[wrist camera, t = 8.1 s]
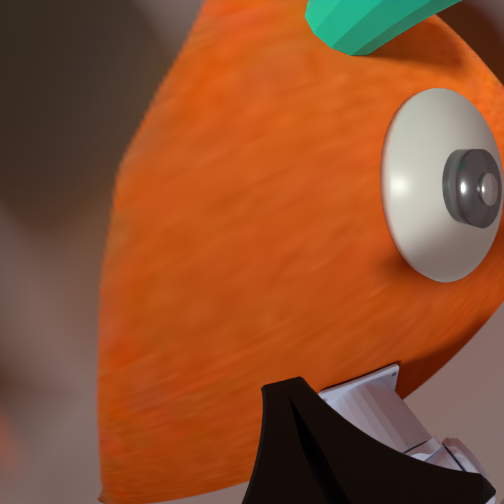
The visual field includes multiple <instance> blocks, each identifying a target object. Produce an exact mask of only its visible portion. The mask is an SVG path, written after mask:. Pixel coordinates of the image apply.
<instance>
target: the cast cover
mask: <svg viewBox="0 0 504 504" xmlns="http://www.w3.org/2000/svg"><path fill="white" fill-rule="evenodd" d="M442 191H443V198H444V202H445V205H446V208H447V210H448V212H449V214H450V215H451V217H452V218H453V219H454V220H455V221H457V222H460V223H463V224H467V225H471V226H475V227H478V228H487V227H489V226H490V225H491V224H492V223H493V221H494V220H495V218H496V216H497V214H498V211H499V208H500V203H501V196H502V185H501V177H500V172H499V169H498V166H497V163H496V161H495V159H494V158H493V156H492V155H491V154H490V153H489V152H488V151H487V150H485V149H458V150H455V151H453V152H452V153H451V154H450V155H449V157H448V159H447V161H446V163H445V166H444V170H443V177H442Z"/></svg>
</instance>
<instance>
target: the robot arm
mask: <svg viewBox="0 0 504 504" xmlns="http://www.w3.org/2000/svg"><path fill="white" fill-rule="evenodd" d="M398 372H399V366H398V365H397V364H393V365H391V366H388V367H386V368H383V369H381V370H379V371H376V372H374V373H371V374H369V375H366V376H363V377H361V378H358V379H355V380H353V381H350V382H347V383H344V384H341V385H338V386H335V387H332V388H329V389H326V390H323V391H321V392H320V393H319V394H317V393H316V392H315V391H314V390H313V389H312V388H311V387H310V386H309V385H308V383H307V382H306V381H305V380H304V379H303V378H302V377H300V376H299V377H295V378H291V379H288V380H284V381H280V382H275V383H271V384H267V385H264V386H263V387H262V388H261V391H262V397H263V417H262V427H261V435H260V441H259V446H258V451H257V456H256V461H255V465H254V469H253V472H252V476H251V479H250V482H249V485H248V488H247V491H246V494H245V497H244V499H243V501H242V504H495V501H496V496H495V493H496V490H495V489H494V487H493V486H492V484H491V483H490V481H489V478H488V474H487V473H486V471H485V469H484V468H483V466H482V465H481V463H480V462H479V461H478V460H477V458H476V457H475V456H474V454H473V453H472V452H471V451H470V450H469V449H468V448H467V447H466V446H465V445H464V444H463V443H462V442H461V441H460V440H459V439H457V438H445V439H444V440H443V441H442V444H443V446H444V447H443V446H442V445H441V444H440V442H439V441H438V440H437V439H436V438H435V437H432V436H431V435H430V433H428V431H427V430H426V428H425V427H424V426H423V425H422V424H421V422H420V421H419V420H418V419H417V418H416V416H415V415H414V414H413V413H412V412H411V410H410V409H409V408H408V407H407V405H406V404H405V403H404V402H403V400H402V399H401V398H400V397H399V396H398V394H397V393H396V392H395V387H396V382H397V377H398ZM323 399H324V400H323ZM444 448H445V449H446V450H447V451H446V450H445V449H444ZM498 504H504V499H503V500H501V502H499V503H498Z"/></svg>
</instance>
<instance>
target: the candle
mask: <svg viewBox="0 0 504 504" xmlns="http://www.w3.org/2000/svg"><path fill="white" fill-rule="evenodd" d="M459 1H461V0H309V1H308V3H307V8H306V14H305V18H306V20H307V21H308V23H309V25H310V27H311V29H312V31H313V33H314V34H315V35H316V36H318V37H319V38H320V39H321V40H322V41H324V42H325V43H326V44H327V45H328V46H329V47H330V48H333V49H336V50H338V51H341V52H343V53H346V54H348V55H351V56H354V55H369V54H370V53H372V52H373V51H375V50H376V49H378V48H379V47H381V46H382V45H384V44H385V43H387V42H388V41H390V40H392V39H393V38H395V37H396V36H398V35H400V34H401V33H403V32H405V31H406V30H408V29H410V28H411V27H413V26H415V25H416V24H418V23H420V22H422V21H423V20H425V19H427V18H429V17H430V16H432V15H434V14H436V13H438V12H440V11H441V10H443V9H445V8H447V7H449V6H451V5H453V4H455V3H457V2H459Z"/></svg>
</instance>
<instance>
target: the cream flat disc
mask: <svg viewBox="0 0 504 504" xmlns="http://www.w3.org/2000/svg"><path fill="white" fill-rule="evenodd" d="M458 149H485V150H487V151H488V152H489V153H490V154H491V155H492V156H493V158H494V159H495V161H496V163H497V166H498V169H499V172H500V177H501V185H502V196H501V203H500V208H499V211H498V214H497V216H496V218H495V220H494V221H493V223H492V224H491V225H490V226H489V227H487V228H478V227H475V226H471V225H467V224H463V223H460V222H457V221H455V220H454V219H453V218H452V217H451V215H450V214H449V212H448V210H447V208H446V205H445V202H444V198H443V191H442V177H443V170H444V166H445V163H446V161H447V159H448V157H449V155H450V154H451V153H452V152H453V151H455V150H458ZM380 184H381V197H382V204H383V210H384V215H385V219H386V223H387V226H388V229H389V232H390V235H391V237H392V240H393V242H394V244H395V246H396V248H397V250H398V251H399V253H400V254H401V256H402V257H403V259H404V260H405V261H406V262H407V263H408V265H410V266H411V267H412V268H413V269H414V270H415V271H417V272H419V273H420V274H422V275H424V276H426V277H428V278H430V279H432V280H435V281H438V282H453V281H456V280H459V279H461V278H463V277H465V276H467V275H468V274H469V273H471V272H472V271H473V270H474V269H475V268H476V267H477V266H478V265H479V264H480V263H481V262H482V260H483V259H484V258H485V256H486V254H487V253H488V251H489V249H490V247H491V245H492V243H493V241H494V239H495V236H496V234H497V231H498V227H499V224H500V220H501V215H502V209H503V199H504V180H503V170H502V164H501V159H500V155H499V151H498V148H497V145H496V142H495V139H494V137H493V134H492V132H491V130H490V128H489V126H488V124H487V122H486V121H485V119H484V118H483V116H482V115H481V114H480V112H479V111H478V110H477V109H476V107H475V106H474V105H473V104H472V103H471V102H470V101H469V100H467V99H466V98H465V97H463V96H462V95H460V94H458V93H457V92H455V91H452V90H449V89H444V88H432V89H429V90H425V91H422V92H419V93H416V94H414V95H412V96H411V97H409V98H408V99H407V100H405V101H404V102H403V103H402V104H401V105H400V107H399V108H398V110H397V111H396V112H395V114H394V116H393V118H392V120H391V122H390V124H389V127H388V129H387V132H386V135H385V139H384V144H383V148H382V156H381V168H380Z"/></svg>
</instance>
